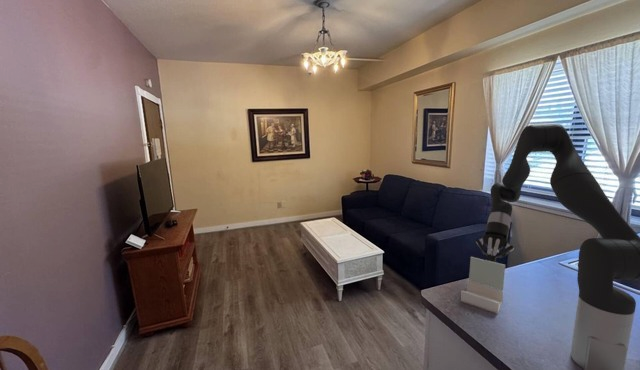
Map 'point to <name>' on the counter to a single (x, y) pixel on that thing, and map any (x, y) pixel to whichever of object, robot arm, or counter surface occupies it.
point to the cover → (487, 273)
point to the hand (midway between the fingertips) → (489, 265)
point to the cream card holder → (482, 297)
